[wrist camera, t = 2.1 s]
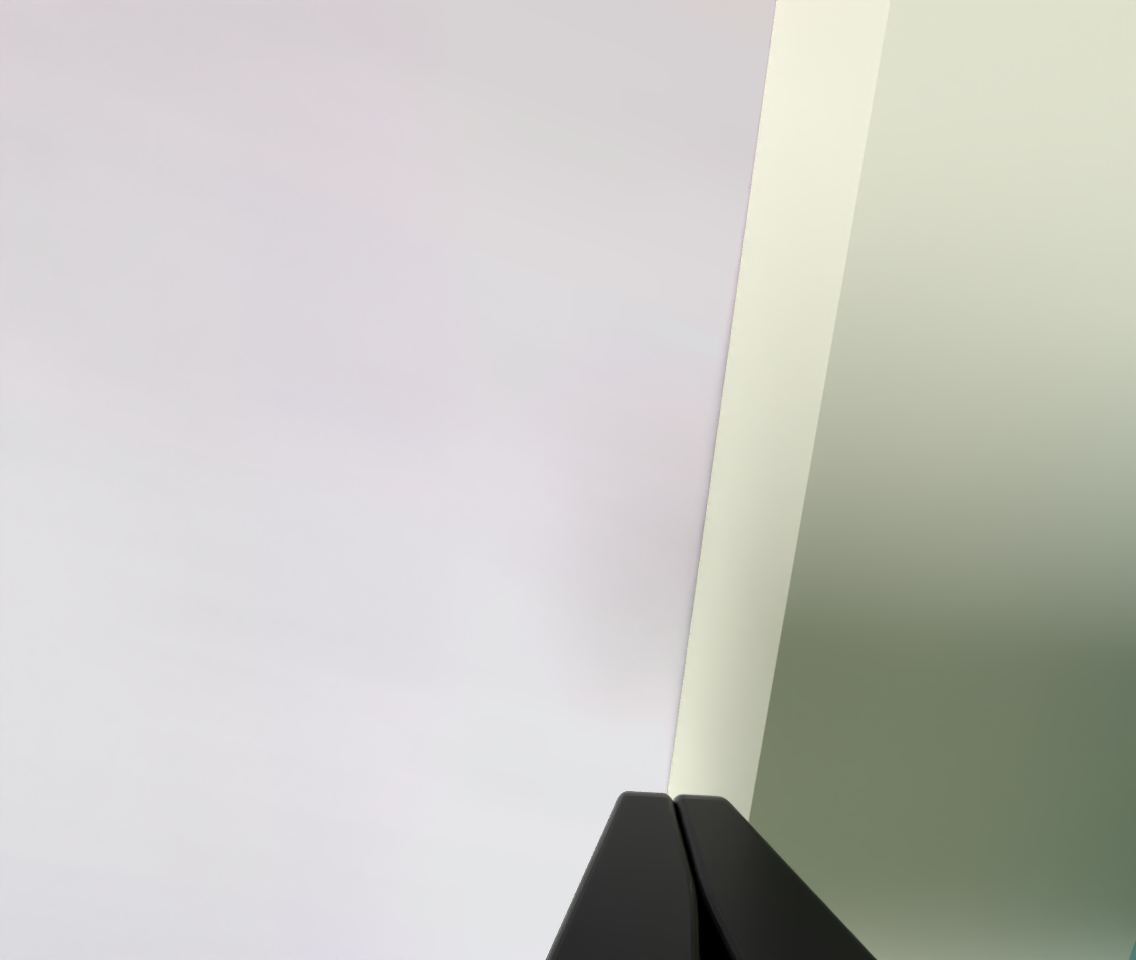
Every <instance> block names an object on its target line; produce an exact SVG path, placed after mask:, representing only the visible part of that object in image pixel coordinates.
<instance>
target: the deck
mask: <svg viewBox="0 0 1136 960" xmlns="http://www.w3.org/2000/svg"><path fill="white" fill-rule="evenodd" d="M679 794H691V795H711V796H721V797H723V798H725V799H727V800H728V801H729V802H730V803H731V804H732V805H733V806H734V807H735V808H736V809H737V810H738V811H739V812H740V814H741V815H742V816H743V817H744V818H745V819H746V820H747V821H748V822H749V823H750V824H751V825H752V826H753V827H754V829H755V830H756V831H757V832H758V833H759V834H760V835H761V836H762V837H763V838H764V839H765V840H766V841H767V842H768V843H769V845H770V846H771V847H772V848H773V849H774V850H775V851H776V852H777V853H778V854H779V855H780V856H781V857H782V858H783V860H784V861H785V862H786V863H787V864H788V865H789V866H790V867H791V868H792V869H793V870H794V871H795V872H796V873H797V874H798V876H799V877H800V878H801V879H802V880H803V881H804V882H805V883H806V884H807V885H808V886H809V887H810V888H811V889H812V891H813V892H814V893H815V894H816V895H817V896H818V897H819V898H820V899H821V900H822V901H823V902H824V903H825V904H826V906H827V907H828V908H829V909H830V910H831V911H832V912H833V913H834V914H835V915H836V916H837V917H838V918H839V919H840V920H841V922H842V923H843V924H844V925H845V926H846V927H847V928H848V929H849V930H850V931H851V932H852V933H853V934H854V935H855V937H856V938H857V939H858V940H859V941H860V942H861V943H862V944H863V945H864V946H865V947H866V948H867V949H868V950H869V951H870V953H871V954H872V955H873V956H874V957H875V958H876V959H877V960H1129V958H1130V955H1131V952H1132V950H1133V947H1134V944H1135V941H1136V0H777V2H776V10H775V17H774V24H773V31H772V39H771V46H770V53H769V60H768V68H767V75H766V82H765V89H764V97H763V104H762V111H761V119H760V126H759V133H758V140H757V148H756V155H755V162H754V169H753V177H752V184H751V191H750V199H749V206H748V213H747V220H746V228H745V235H744V242H743V249H742V257H741V264H740V271H739V278H738V286H737V293H736V300H735V308H734V315H733V322H732V329H731V337H730V344H729V351H728V358H727V366H726V373H725V380H724V388H723V395H722V402H721V409H720V417H719V424H718V431H717V438H716V446H715V453H714V460H713V467H712V475H711V482H710V489H709V497H708V504H707V511H706V518H705V526H704V533H703V540H702V547H701V555H700V562H699V569H698V577H697V584H696V591H695V598H694V606H693V613H692V620H691V627H690V635H689V642H688V649H687V656H686V664H685V671H684V678H683V686H682V693H681V700H680V707H679V715H678V722H677V729H676V736H675V744H674V751H673V758H672V766H671V773H670V780H669V787H668V796H670V797H671V798H672V800H674V798H675V797H676V796H677V795H679Z"/></svg>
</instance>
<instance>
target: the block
mask: <svg viewBox="0 0 1136 960" xmlns="http://www.w3.org/2000/svg"><path fill="white" fill-rule="evenodd" d="M1129 960H1136V941H1135V944H1134V947H1133V950H1132V952H1131V955H1130V958H1129Z"/></svg>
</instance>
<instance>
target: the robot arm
mask: <svg viewBox="0 0 1136 960" xmlns="http://www.w3.org/2000/svg"><path fill="white" fill-rule="evenodd" d="M546 960H877V959H876V958H875V957H874V956H873V955H872V954H871V953H870V951H869V950H868V949H867V948H866V947H865V946H864V945H863V944H862V943H861V942H860V941H859V940H858V939H857V938H856V937H855V935H854V934H853V933H852V932H851V931H850V930H849V929H848V928H847V927H846V926H845V925H844V924H843V923H842V922H841V920H840V919H839V918H838V917H837V916H836V915H835V914H834V913H833V912H832V911H831V910H830V909H829V908H828V907H827V906H826V904H825V903H824V902H823V901H822V900H821V899H820V898H819V897H818V896H817V895H816V894H815V893H814V892H813V891H812V889H811V888H810V887H809V886H808V885H807V884H806V883H805V882H804V881H803V880H802V879H801V878H800V877H799V876H798V874H797V873H796V872H795V871H794V870H793V869H792V868H791V867H790V866H789V865H788V864H787V863H786V862H785V861H784V860H783V858H782V857H781V856H780V855H779V854H778V853H777V852H776V851H775V850H774V849H773V848H772V847H771V846H770V845H769V843H768V842H767V841H766V840H765V839H764V838H763V837H762V836H761V835H760V834H759V833H758V832H757V831H756V830H755V829H754V827H753V826H752V825H751V824H750V823H749V822H748V821H747V820H746V819H745V818H744V817H743V816H742V815H741V814H740V812H739V811H738V810H737V809H736V808H735V807H734V806H733V805H732V804H731V803H730V802H729V801H728V800H727V799H725V798H723V797H721V796H711V795H691V794H679V795H677V796H676V797H675V798H674V800H672V798H671V797H670V796H668V795H667V794H665V793H653V792H634V791H626V792H623V793H622V794H621V795H620V796H619V797H618V799H617V801H616V804H615V806H614V808H613V810H612V813H611V815H610V817H609V819H608V822H607V824H606V826H605V828H604V830H603V833H602V835H601V837H600V839H599V842H598V844H597V846H596V848H595V851H594V853H593V855H592V857H591V860H590V862H589V864H588V866H587V869H586V871H585V873H584V875H583V877H582V880H581V882H580V884H579V886H578V889H577V891H576V893H575V895H574V898H573V900H572V902H571V904H570V907H569V909H568V911H567V913H566V916H565V918H564V920H563V922H562V924H561V927H560V929H559V931H558V933H557V936H556V938H555V940H554V942H553V945H552V947H551V949H550V951H549V954H548V956H547V958H546Z"/></svg>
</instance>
